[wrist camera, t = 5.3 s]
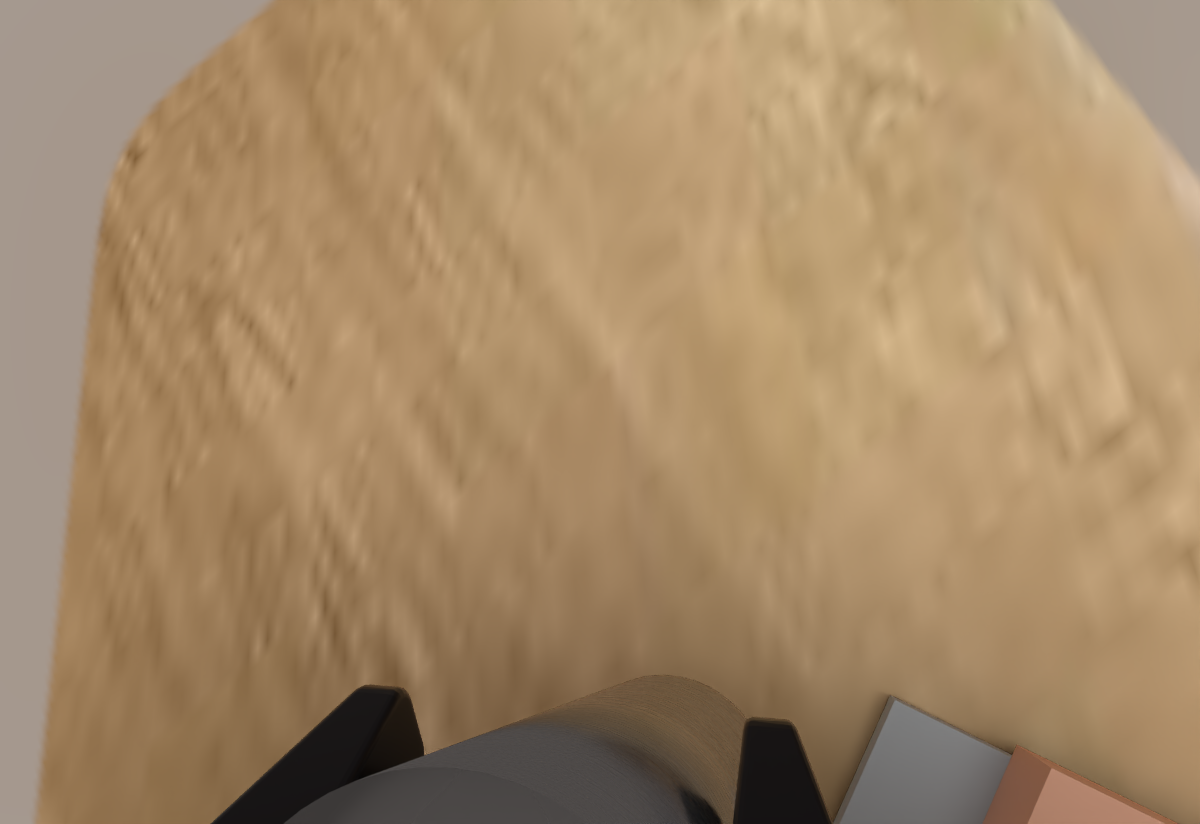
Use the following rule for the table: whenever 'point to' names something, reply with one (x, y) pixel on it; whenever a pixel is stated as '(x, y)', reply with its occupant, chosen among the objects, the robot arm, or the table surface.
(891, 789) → the socket base
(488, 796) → the peg
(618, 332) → the table surface
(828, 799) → the table surface
